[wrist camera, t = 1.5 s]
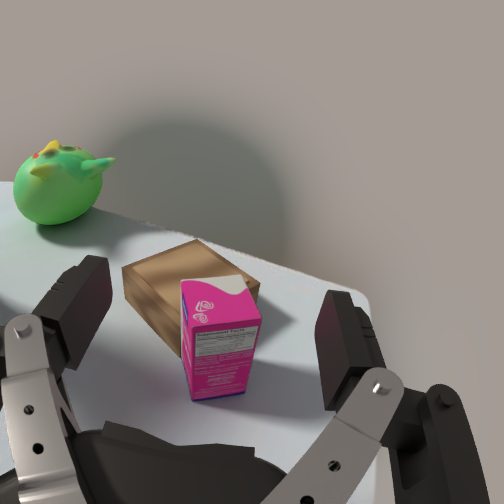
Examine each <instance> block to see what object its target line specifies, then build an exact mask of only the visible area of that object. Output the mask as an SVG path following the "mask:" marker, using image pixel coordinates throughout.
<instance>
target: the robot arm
mask: <svg viewBox="0 0 504 504" xmlns="http://www.w3.org/2000/svg"><path fill="white" fill-rule="evenodd" d="M112 295H113V292H112V284H111V277H110V269H109V262H108V259H107V258H105V257H99V256H93V255H87V256H86V257H85V258H84V259H83V260H82V262H81V263H80V264H79V265H78V266H73V267H72V268H70V269H68V270H67V271H65V272H64V273H63V274H62V275H61V276H60V277H59V279H58V280H57V282H56V283H55V284H54V285H53V286H52V287H51V290H49V291H48V292H47V294H46V295H45V296H44V297H43V299H42V300H41V301H40V302H39V304H38V305H37V306H36V308H35V309H34V310H33V312H32V313H31V314H21V315H18V316H16V317H14V318H13V319H11V320H10V321H9V322H8V324H7V325H6V326H0V411H1V408H2V406H3V407H4V414H5V421H6V427H7V432H8V438H9V443H10V447H11V452H12V456H13V461H14V465H15V468H14V469H12V470H10V471H8V472H6V473H5V474H3V475H1V476H0V504H346V502H347V501H348V500H349V498H350V497H351V495H352V494H353V492H354V491H355V489H356V487H357V486H358V484H359V483H360V481H361V480H362V478H363V476H364V475H365V473H366V472H367V470H368V468H369V467H370V465H371V463H372V461H373V460H374V458H375V456H376V455H377V453H378V451H379V449H380V447H381V446H383V447H388V450H389V455H390V463H391V471H392V478H393V486H394V495H395V504H490V501H489V496H488V491H487V487H486V483H485V478H484V474H483V471H482V467H481V463H480V459H479V455H478V452H477V448H476V445H475V442H474V438H473V435H472V432H471V429H470V425H469V422H468V419H467V416H466V413H465V411H464V408H463V405H462V402H461V399H460V397H459V396H458V394H457V393H456V392H455V391H454V390H453V389H452V388H450V387H449V386H446V385H443V384H436V385H433V386H431V387H430V389H429V390H428V391H427V392H426V393H424V392H420V391H416V390H412V389H408V388H405V387H404V386H403V383H402V381H401V379H400V378H399V377H398V376H397V375H396V374H395V373H394V372H392V371H390V370H388V369H387V368H386V365H385V362H384V359H383V356H382V353H381V350H380V347H379V344H378V341H377V339H376V338H375V337H376V336H375V333H374V330H373V329H372V328H373V327H372V324H371V321H370V319H369V316H368V315H367V314H366V313H365V312H364V311H363V310H362V308H361V307H354V305H353V302H352V299H351V296H350V293H349V292H344V291H335V290H328V291H327V293H326V295H325V298H324V301H323V304H322V307H321V310H320V313H319V315H318V318H317V321H316V325H315V343H316V350H317V357H318V363H319V370H320V377H321V385H322V392H323V399H324V407H325V411H336V416H334V417H333V419H332V420H331V421H330V423H329V424H328V425H327V427H326V428H325V429H324V430H323V432H322V433H321V434H320V436H319V437H318V438H317V439H316V441H315V442H314V443H313V444H312V446H311V447H310V448H309V449H308V451H307V452H306V453H305V454H304V455H303V457H302V458H301V459H300V460H299V461H298V463H297V464H296V465H295V466H294V467H293V468H292V470H291V471H290V472H289V473H288V474H286V473H285V472H284V471H283V470H281V469H280V468H278V467H277V466H275V465H273V464H272V463H270V462H268V461H265V460H263V459H261V458H257V457H254V453H255V447H244V446H234V445H225V444H217V443H216V444H204V445H188V446H176V445H172V444H170V443H168V442H166V441H163V440H161V439H159V438H157V437H155V436H152V435H150V434H148V433H146V432H144V431H142V430H140V429H136V428H132V427H128V426H124V425H120V424H116V423H113V422H109V421H105V424H104V427H103V430H101V429H99V430H88V431H83V432H82V431H81V429H80V427H79V425H78V423H77V420H76V418H75V415H74V412H73V409H72V405H71V402H70V399H69V395H68V392H67V388H66V385H65V381H64V378H63V375H62V372H63V371H64V369H65V367H66V368H69V369H72V370H77V368H78V366H79V364H80V362H81V360H82V358H83V356H84V354H85V352H86V350H87V348H88V346H89V345H90V343H91V341H92V339H93V337H94V335H95V333H96V331H97V330H98V328H99V326H100V324H101V322H102V320H103V319H104V317H105V315H106V313H107V311H108V310H109V308H110V306H111V302H112Z"/></svg>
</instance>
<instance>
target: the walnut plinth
mask: <svg viewBox="0 0 504 504" xmlns="http://www.w3.org/2000/svg"><path fill="white" fill-rule="evenodd" d="M239 274H241V275H242V276H243V278H244V280H245V283H246V285H247V287H248V289H249V291H250V293H251V295H252V297H253V299H254V301H255V304H256V301H257V297H258V292H259V287H260V282H258V281H257V280H255V279H254V278H253V277H251V276H250V275H248V274H247V273H245V272H244V271H242V270H241V269H239V268H238V267H237V266H235V265H234V264H232V263H231V262H229V261H228V260H226V259H225V258H224V257H222V256H221V255H219V254H218V253H216V252H215V251H213V250H212V249H211V248H209V247H208V246H206V245H205V244H203V243H202V242H201V241H199V240H198V239H196V240H193V241H190V242H187V243H185V244H182V245H179V246H177V247H174V248H171V249H169V250H166V251H163V252H161V253H158V254H155V255H153V256H150V257H147V258H145V259H142V260H139V261H137V262H134V263H132V264H129V265H126V266H124V267H122V276H123V285H124V294H125V299H126V300H127V301H128V302H129V303H130V305H131V306H132V307H133V308H134V309H135V310H136V311H137V313H138V314H139V315H140V316H141V317H142V318H143V319H144V320H145V321H146V323H147V324H148V325H149V326H150V327H151V328H152V329H153V330H154V331H155V332H156V333H157V334H158V335H159V337H160V338H161V339H162V340H163V341H164V342H165V343H166V344H167V345H168V346H169V347H170V348H171V349H172V350H173V351H174V352H175V353H176V354H177V355H178V356H179V357H180V358H181V357H182V356H181V280H184V279H197V278H211V277H221V276H230V275H239Z"/></svg>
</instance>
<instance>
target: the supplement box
mask: <svg viewBox="0 0 504 504" xmlns="http://www.w3.org/2000/svg"><path fill="white" fill-rule="evenodd" d="M261 322H262V317H261V314H260V312H259V310H258V308H257V306H256V304H255V301H254V299H253V297H252V295H251V293H250V291H249V289H248V287H247V285H246V283H245V280H244V278H243V276H242V275H241V274H239V275H230V276H221V277H211V278H197V279H184V280H181V356H182V362H183V365H184V369H185V373H186V377H187V381H188V385H189V390H190V395H191V400H192V401H199V400H206V399H213V398H219V397H226V396H231V395H237V394H244V393H245V390H246V385H247V381H248V377H249V373H250V369H251V364H252V360H253V356H254V351H255V347H256V343H257V339H258V334H259V330H260V326H261Z"/></svg>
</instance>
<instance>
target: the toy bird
mask: <svg viewBox="0 0 504 504" xmlns="http://www.w3.org/2000/svg"><path fill="white" fill-rule="evenodd" d="M115 162H116V159H115V158H103V159H95V157H94V156H93V155H92V154H90V153H89V152H87V151H86V150H84V149H82V148H79V147H75V146H61V145H60V143H59V142H58V141H57V140H53V141H51V142H50V143H49V144H48V145H47V147H46V148H45V149H44V150H42V151H39V152H37V153H36V154H34V155H33V156H31V157H30V158H29V159H28V160H26V161H25V162H24V164H23V165H22V166H21V167H20V169H19V171H18V173H17V175H16V178H15V181H14V187H13V193H14V199H15V202H16V205H17V207H18V209H19V210H20V212H21V213H22V214H23V215H24V216H25V217H26V218H27V219H29V220H31V221H33V222H35V223H38V224H44V225H55V224H61V223H65V222H68V221H71V220H73V219H75V218H77V217H79V216H80V215H82V214H83V213H85V212H86V211H87V210H88V209H89V208H90V207H91V206H92V205H93V204H94V202H95V201H96V200H97V198H98V196H99V194H100V191H101V188H102V172H104V171H105V170H107V169H108V168H110V167H111V166H112V165H114V164H115Z"/></svg>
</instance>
